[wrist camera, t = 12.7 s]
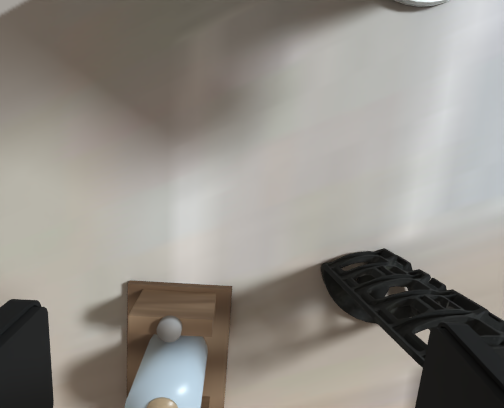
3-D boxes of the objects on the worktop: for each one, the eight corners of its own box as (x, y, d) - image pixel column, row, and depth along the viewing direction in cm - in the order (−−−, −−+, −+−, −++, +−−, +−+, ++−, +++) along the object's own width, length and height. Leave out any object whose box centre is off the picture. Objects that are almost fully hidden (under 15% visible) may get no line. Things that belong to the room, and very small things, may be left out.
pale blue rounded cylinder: (147, 323, 38) (123, 378, 30) (208, 325, 38) (201, 381, 30) (147, 376, 39) (124, 443, 31) (206, 378, 40) (198, 445, 32)
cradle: (129, 280, 38) (106, 314, 31) (232, 286, 38) (230, 321, 32) (128, 404, 41) (107, 459, 34) (223, 408, 41) (220, 463, 35)
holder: (304, 298, 39) (391, 450, 19) (332, 228, 38) (454, 309, 18) (402, 332, 40) (580, 506, 20) (431, 265, 39) (644, 377, 20)
